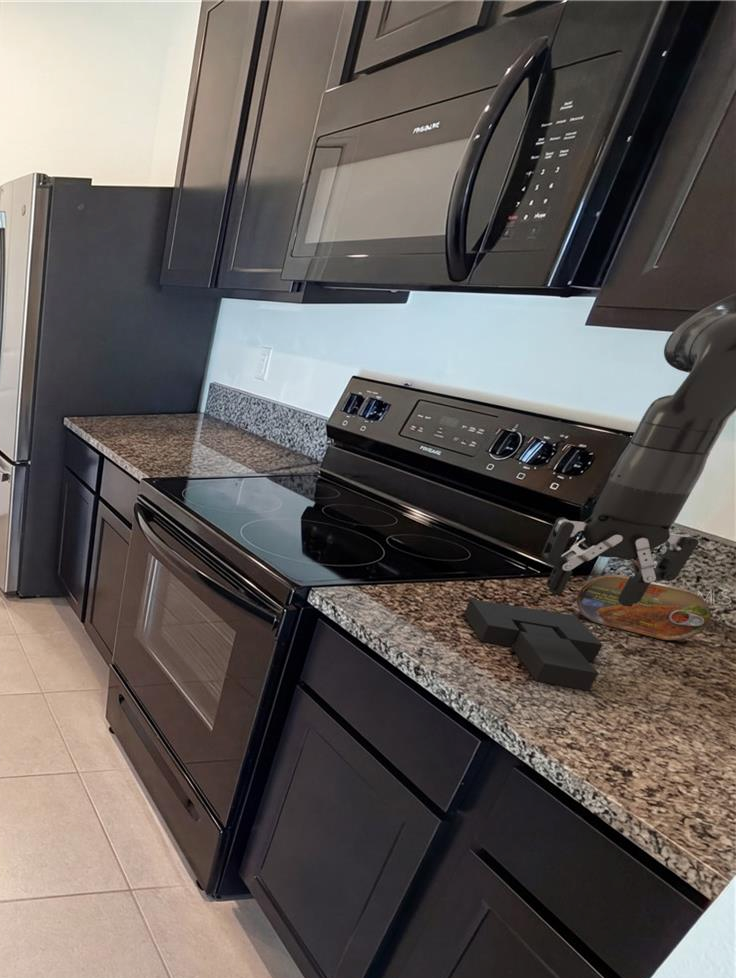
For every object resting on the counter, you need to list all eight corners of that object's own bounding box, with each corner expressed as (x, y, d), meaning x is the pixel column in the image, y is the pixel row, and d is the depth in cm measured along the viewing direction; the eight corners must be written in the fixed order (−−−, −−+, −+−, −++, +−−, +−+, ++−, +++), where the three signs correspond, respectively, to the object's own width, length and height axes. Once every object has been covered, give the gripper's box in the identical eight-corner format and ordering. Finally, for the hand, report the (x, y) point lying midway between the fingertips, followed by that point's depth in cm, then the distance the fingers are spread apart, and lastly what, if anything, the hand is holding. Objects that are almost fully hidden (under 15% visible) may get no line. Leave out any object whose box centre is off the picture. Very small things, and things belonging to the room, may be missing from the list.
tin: (566, 615, 111) (590, 570, 107) (568, 609, 113) (591, 565, 109) (693, 648, 102) (723, 601, 98) (692, 641, 104) (722, 594, 100)
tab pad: (551, 645, 102) (559, 629, 100) (588, 691, 90) (598, 673, 89) (504, 637, 104) (512, 621, 102) (535, 680, 93) (544, 663, 91)
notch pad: (566, 631, 106) (575, 615, 104) (593, 661, 98) (603, 644, 96) (463, 614, 111) (470, 598, 109) (480, 641, 102) (488, 624, 101)
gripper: (591, 482, 82) (534, 599, 89) (745, 498, 77) (671, 621, 84) (567, 468, 88) (515, 578, 95) (708, 482, 83) (642, 597, 90)
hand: (588, 598), depth 90 cm, fingers open, 7 cm apart
